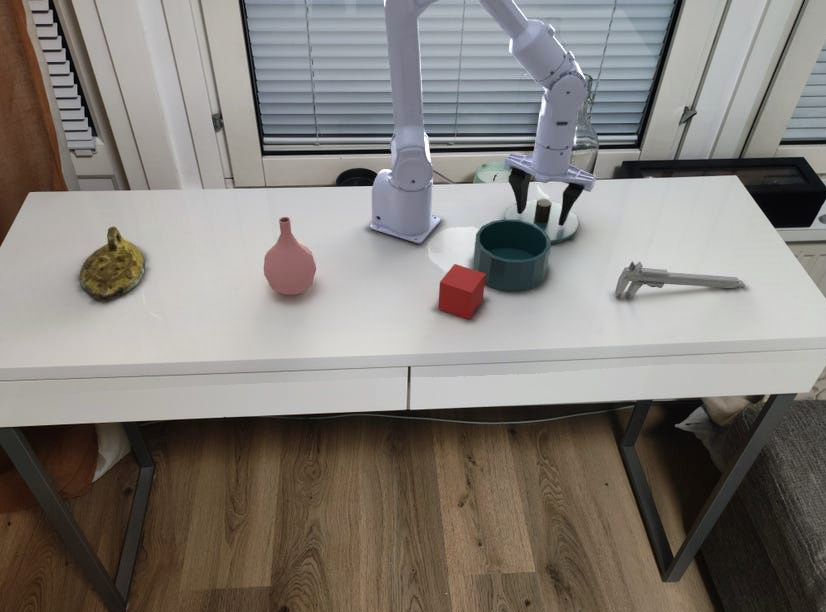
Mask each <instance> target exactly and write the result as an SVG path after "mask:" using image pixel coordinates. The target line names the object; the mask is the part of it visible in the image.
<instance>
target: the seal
mask: <svg viewBox="0 0 826 612" xmlns="http://www.w3.org/2000/svg"><path fill="white" fill-rule="evenodd" d="M106 239H107V243H106V244H104V245H103V246H101V247H99V248H98V249H96V250H94V251H93V252H92V253H91V254H90V255H89V256H88V257H87V258H86V259H85V261H84V262H83V265H82V266H81V269H80V271H79V282H80V286H81V287H82V288H83V290H84V291H85V292H86V293H87V294H88V295H89V296H90V297H92V298H94V299H96V300H97V301H98V300H99V301H104V302H105V301H108V300H110V299H111V298H113V297H117V296H118V295H124V294H127V293H128V292H130V291H131V290H132V289H134V288H136V286H137V285H138V284H139V283H140V282H141V280H142V279H143V276H144V274H145V266H146V264H145V263H146V262H145V261H146V260H145V257H144V255H143V252H142V250H140V248H138V247H137V246H136V245H135V244H133V243H132V242H130V241H129V240H127V239H125V238H124V237H123V236H122V235H121V232H120V230H119V229H118V227H116V226H113V225H112V226H110V227H109V228H108V229H107V234H106Z"/></svg>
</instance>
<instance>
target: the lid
mask: <svg viewBox="0 0 826 612" xmlns="http://www.w3.org/2000/svg"><path fill="white" fill-rule="evenodd" d="M561 210H562V204H561V203H558V202H555V201H551V200H550V199H546V198H540V199H527V204H526V208H525V210H524V211H523V212H522V214H519V213H517V204H516V203H514V204H513V205H510V206H509V208H507V210H506V212H505V214H504V219H513V220H522V221H525V222H529V223H532V224H534V225H536V226H538V227H539V228H541V229H543V230H544V231H545V232H546V234H547V235H548V236H549V237H550V243H551V244H552V243H554V244H555V243H559V242H562V241H565V240H568V239H570V238H572V237H573V236H574V235H576V233H577V232H578V229H579V219H578V216H577V214H575V212H574V211H572V209H571V210H570V212H569V214H568V217H567V220H566V222H565V223H564V225H563V226H561V225H559V218H560V214H561Z"/></svg>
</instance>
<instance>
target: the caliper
mask: <svg viewBox="0 0 826 612" xmlns="http://www.w3.org/2000/svg"><path fill="white" fill-rule="evenodd" d="M629 283H630V284H629ZM628 285H629V286H628ZM643 285H646V286H647V287H650V288H659V289H662V288H663V286H664V285H674V286H675V285H676V286H677V285H678V286H692V287H693V286H694V287H703V288H704V287H707V288H720V289H732V290H735V289H737V288H738V287H746V284H745V283H744V282H743V281H742V280H740V279H739V278H738V277H737V276H725V275H723V276H722V275H711V274H696V273H682V272H671V271H670V272H669V271H668V270H667V269H662V268H661V269H660V268H651V267H650V268H649V267H643V264H642V262H641V261H638V262H637V263H636V264H635V262H634V261H633V260H632V261H631V262H630V264H629V266H628V267H627V266H625V267H624V268H623V270H622V272H621V273H620V274H619V277H618V279H617V283H616V287H615V291H614V293H615V295H616V297H617V298H619V299H620V298H621V297H622V295H623V293H624V291H625V290H626V288H627V290H626V292H625V295H624V296H626V298H627V299H631V298H632V297H634V295H635V294H636V293H637V292H638V291H639V290H640V289H641V287H642V286H643Z"/></svg>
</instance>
